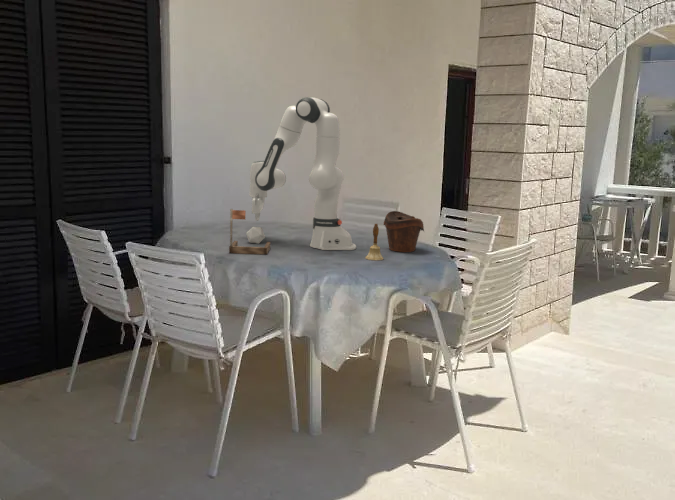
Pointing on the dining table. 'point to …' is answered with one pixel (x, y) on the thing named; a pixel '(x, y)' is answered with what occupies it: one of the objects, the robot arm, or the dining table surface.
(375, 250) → the hand bell
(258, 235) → the die
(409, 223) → the brown lidded bucket
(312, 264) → the dining table surface
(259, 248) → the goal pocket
